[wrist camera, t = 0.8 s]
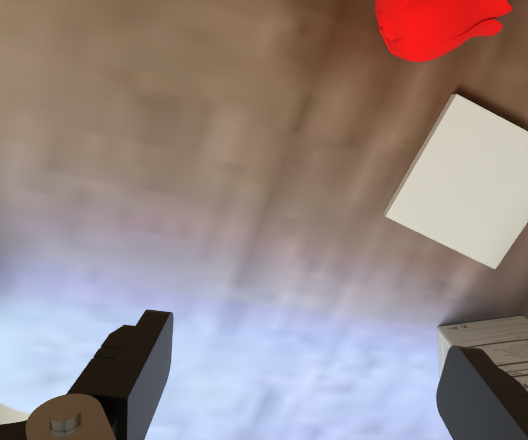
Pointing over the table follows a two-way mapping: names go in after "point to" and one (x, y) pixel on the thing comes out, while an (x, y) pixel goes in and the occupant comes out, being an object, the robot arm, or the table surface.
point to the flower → (435, 24)
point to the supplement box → (491, 343)
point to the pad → (467, 183)
